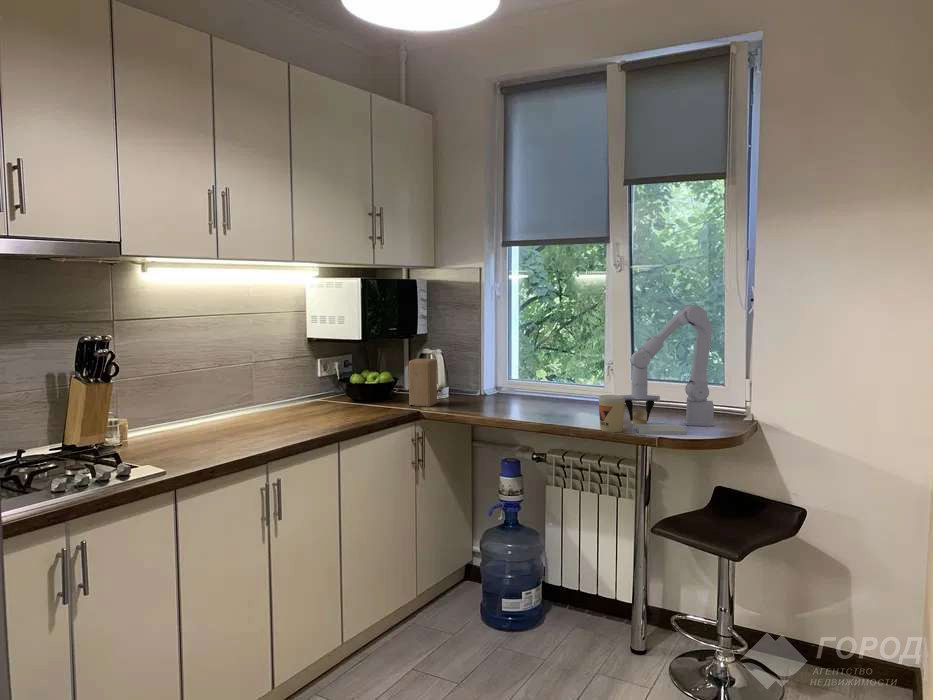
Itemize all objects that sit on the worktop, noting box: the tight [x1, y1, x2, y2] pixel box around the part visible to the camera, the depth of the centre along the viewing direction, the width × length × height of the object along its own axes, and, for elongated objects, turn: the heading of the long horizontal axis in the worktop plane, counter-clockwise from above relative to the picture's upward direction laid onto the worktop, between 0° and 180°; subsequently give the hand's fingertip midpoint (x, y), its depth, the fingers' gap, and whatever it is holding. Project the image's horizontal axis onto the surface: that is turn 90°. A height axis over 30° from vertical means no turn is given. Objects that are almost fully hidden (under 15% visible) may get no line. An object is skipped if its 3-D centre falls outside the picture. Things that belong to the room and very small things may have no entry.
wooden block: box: [408, 358, 438, 408], centre depth 313 cm, size 10×10×20 cm
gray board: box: [634, 423, 688, 435], centre depth 254 cm, size 16×12×1 cm
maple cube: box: [630, 409, 648, 426], centre depth 267 cm, size 5×5×5 cm
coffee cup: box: [597, 394, 626, 433], centre depth 256 cm, size 9×9×12 cm
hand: (639, 420), depth 267 cm, fingers closed on maple cube, 5 cm apart
